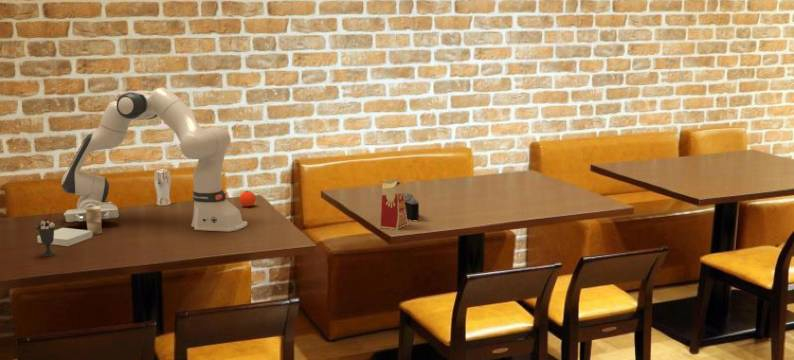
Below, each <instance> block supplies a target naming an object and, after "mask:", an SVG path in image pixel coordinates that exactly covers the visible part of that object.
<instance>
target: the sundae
mask: <svg viewBox="0 0 794 360" xmlns="http://www.w3.org/2000/svg"><path fill="white" fill-rule="evenodd" d="M52 214H53V213H52V212H49V214H48V216H51V215H52ZM36 224H37V226H36V228H35V229H36V230H37V231H38V232H39V233H38V234H39V236H40V238H41V241H42V243H41V244H43V245H45V251H44V252H43V253H41V254H40V256H42V257H51V256H52V257H53V256H55V255H56V254H57V253H56V252H54V251H51V248H50V247H51V246H50V245H52V244H51V243H52V242H53V239H54V231H55V230H56V228H57V226H56V225H55V223H54V222H53V219H52V218H49V217H44V219H42V220H41V221H40V223H38V222H36Z"/></svg>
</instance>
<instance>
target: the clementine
mask: <svg viewBox="0 0 794 360" xmlns="http://www.w3.org/2000/svg"><path fill="white" fill-rule="evenodd" d="M256 199H257V198H256V195H255V194H254V192H252V191H250V190H245V191H244V190H243V192H242V193H240V196H239V203H240V204H241V206H243V207H245V208H249V206H250V207H252V206H253V205H255V203H256Z"/></svg>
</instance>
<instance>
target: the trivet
mask: <svg viewBox="0 0 794 360" xmlns="http://www.w3.org/2000/svg"><path fill="white" fill-rule="evenodd" d="M93 235H94V234H92V231H88V230H87V229H77V228H68V227H61V228H58V229H54V239H53V242H52V243H51V244H50V245H54V246H61V247H69V246H72V245H76V244H78V243H82V242H83V241H86V240H88V239H92V238H93ZM36 237H37V243H38V244H43V243H42V241H41V238H40V235H37V236H36Z"/></svg>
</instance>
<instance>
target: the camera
mask: <svg viewBox="0 0 794 360" xmlns="http://www.w3.org/2000/svg"><path fill="white" fill-rule="evenodd" d="M403 196H404V201H405V207H406V213H407V219H410V220H418V219H419V220H420V218H419V217H420V216H419V214H420V211H419V207H420V206H419V203H420V202H419V200H417V199H415V197H414V195H413V194H412V193H409V192H405V193H404V192H403ZM410 220H409V221H410ZM419 220H418V221H419Z"/></svg>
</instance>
